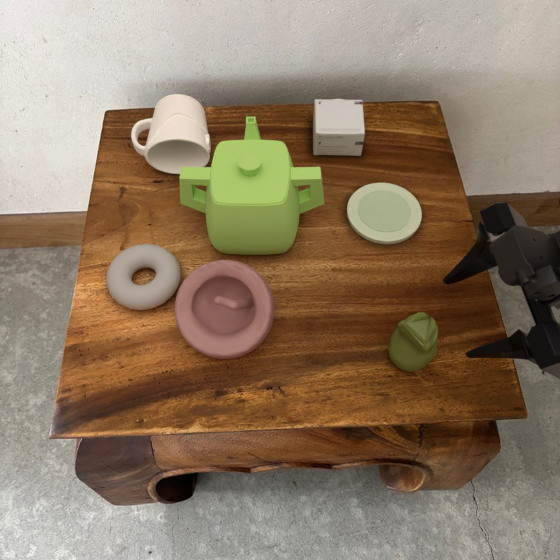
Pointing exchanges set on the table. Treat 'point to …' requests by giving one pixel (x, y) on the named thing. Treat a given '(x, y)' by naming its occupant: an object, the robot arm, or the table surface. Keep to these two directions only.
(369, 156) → the table surface
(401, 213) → the plate
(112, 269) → the donut
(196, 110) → the mug
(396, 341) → the olive green lumpy piece
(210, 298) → the mortar and pestle
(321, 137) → the small box
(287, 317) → the table surface
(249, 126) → the teapot
